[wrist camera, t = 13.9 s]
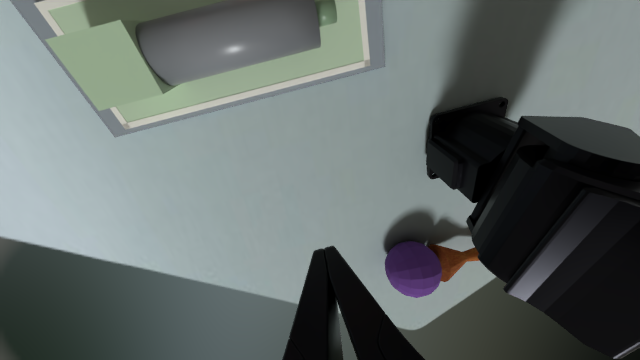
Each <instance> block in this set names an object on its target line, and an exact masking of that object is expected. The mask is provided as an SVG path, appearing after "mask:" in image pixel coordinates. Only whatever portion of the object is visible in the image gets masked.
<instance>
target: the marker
mask: <svg viewBox="0 0 640 360" xmlns="http://www.w3.org/2000/svg"><path fill="white" fill-rule="evenodd" d="M333 23H337V10H336V4H335V0H319V1H314V0H225V1H221V2H218V3H214V4H210V5H206V6H202V7H199V8H195V9H191V10H187V11H183V12H180V13H176V14H172V15H168V16H164V17H161V18H157V19H153V20H149V21H137V20H118V21H114V22H110V23H106V24H102V25H99V26H95V27H91V28H87V29H83V30H80V31H76V32H72V33H68V34H64V35H61V36H57V37H53V38H49V39H45V41H46V42H47V43H48V45H49V46H50V47H51V48H52V50H53V51H54V52H55V54H56V55H57V56H58V58H59V59H60V60H61V62H62V63H63V64H64V66H65V67H66V68H67V70H68V71H69V72H70V74H71V75H72V76H73V78H74V79H75V80H76V82H77V83H78V84H79V86H80V87H81V88H82V90H83V91H84V92H85V93H86V95H87V96H88V97H89V99H90V100H91V101H92V103H93V104H94V105H95V107H96V108H97V109H98V111H101V110H105V109H108V108H112V107H116V106H120V105H124V104H127V103H131V102H135V101H139V100H143V99H147V98H150V97H154V96H158V95H162V94H164V93H166V92H168V91H170V90H171V89H173V88H175V87H177V86H178V85H180V84H182V83H186V82H190V81H194V80H198V79H201V78H205V77H209V76H213V75H217V74H221V73H224V72H228V71H232V70H236V69H240V68H243V67H247V66H251V65H255V64H259V63H263V62H266V61H270V60H274V59H278V58H282V57H285V56H289V55H293V54H297V53H301V52H305V51H308V50H312V49H316V48H320V47H321V37H320V28H319V27H322V26H326V25H330V24H333Z"/></svg>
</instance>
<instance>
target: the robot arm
mask: <svg viewBox="0 0 640 360" xmlns="http://www.w3.org/2000/svg"><path fill="white" fill-rule="evenodd" d="M500 103H501V104H500ZM499 104H500V105H499ZM507 105H508V100H507V99H506V98H503V97H499V98H495V99H491V100H487V101H483V102H479V103H476V104H472V105H468V106H464V107H460V108H456V109H453V110H449V111H445V112H441V113H437V114H434V115H433V116H432V117H431V119H430V128H429V140H428V142H427V160H426V165H427V166H428V168H427V175H428V176H429V178H430V179H436V178H441V179H442V180H443V181H444V182H445V183H446V184H447V185H448V186H449V187H450V188H452V189H453V190H454V189H458V190H459V191H460V192H461V193H462V194H463V195H465V196H466V197H467V198H468V199H469V200H470V201H471V202H472V203H476V202H478V203H477V205H476V207H475V208H474V210H473V212H472V214H471V215H470V216H469V217H468V219H467V221H466V222H467V224H468V227H469V229H470V231H471V233H472V242H473V244H474V246H475V248H476V249H477V251H478V253H479V254H478V259H479V260H480V262H481V263H482V264H483V265H484V266H485V267H486V268H487V269H488V270H489V271H490V272H492V273H493V274H494V275H495V276H497V277H498V278H499V279H501V280H502V281H504V282H505V283H507V284H506V285H505V286H504V291H505V292H506V293H508V294H510V295H513V296H515V297H517V298H519V299H521V300H524V301H526V302H528V303H529V304H531V305H532V306H534V307H536V308H537V309H539V310H541V311H542V312H544V313H545V314H546V315H548V316H549V317H551V318H552V319H553V320H554V321H556V322H557V323H558V324H560V325H561V326H562V327H563V328H564V329H566V330H567V331H568V332H569V333H571V334H572V335H573V336H574V337H576V338H577V339H578V340H579V341H581V342H582V343H583V344H585V345H587V346H588V347H591V348H593V349H595V350H597V351H599V352H601V353H603V354H605V355H607V356H609V357H612V358H615V359H621V358H623V357H624V356H626V355H628V354H629V353H631V352H633V351H634V350H636V349H638V348H639V347H640V137H639V136H638V135H637V134H636V133H634V132H633V131H632V130H631V129H628V128H625V127H621V126H617V125H613V124H609V123H605V122H600V121H596V120H592V119H588V118H583V117H547V116H521V118H520V120H519V122H518V123H517V122H515V121H512V120H510V119H507V118H505V113H506V109H507ZM436 119H438V121H437V122H435V121H436ZM433 173H434V174H433ZM432 174H433V175H432ZM337 302H338V305H339V308H340V311H341V314H342V317H343V319H344V322H345V325H346V328H347V331H348V334H349V337H350V340H351V343H352V345H353V348H354V351H355V354H356V357H357V360H425V359H424V358H423V357H422V356H421V355H420V354H419V353H418V352H417V351H416V350H415V348H414V347H413V346H412V345H411V344H410V343H409V342H408V341H407V340H406V338H405V337H404V336H403V335H402V334H401V332H400V331H399V330H398V329H397V327H396V326H395V325H394V324H393V322H392V321H391V320H390V319H389V317H388V316H387V315H386V314H385V312H384V311H383V310H382V308H381V307H380V306H379V304H378V303H377V302H376V300H375V299H374V298H373V296H372V295H371V294H370V292H369V291H368V290H367V289H366V287H365V286H364V285H363V283H362V282H361V281H360V279H359V278H358V277H357V275H356V274H355V273H354V272H353V270H352V269H351V268H350V266H349V265H348V264H347V262H346V261H345V260H344V258H343V257H342V256H341V254H340V253H339V252H338V251H337V249H336V248H335V247H334V246H330V247H326V248H325V249H318V250H315V251H314V252H313V256H312V259H311V262H310V266H309V269H308V273H307V276H306V280H305V283H304V287H303V290H302V294H301V297H300V301H299V304H298V308H297V311H296V315H295V318H294V322H293V325H292V329H291V332H290V336H289V338H290V339H289V340H288V343H287V346H286V349H285V353H284V356H283V359H282V360H343V351H342V342H341V335H340V334H341V333H340V324H339V314H338V305H337Z"/></svg>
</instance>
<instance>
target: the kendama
mask: <svg viewBox="0 0 640 360" xmlns="http://www.w3.org/2000/svg"><path fill="white" fill-rule="evenodd" d="M478 254H479V253H478V251H477V249H476V248H472V249H469V250H467V251H464V252H460V251H457V250H453V249H449V248H446V247H442V246H438V245H434V244H431V245H429V246H428V247H427V246H425V245H424V244H422V243H418V242H414V241H406V242H401V243H398V244H397V245H396V246H394V247H393V248H392V249H391V250H390V251H389V253H388V255H387V257H386V260H385V270H386V275H387V277H388V279H389V281H390V283H391V285H392V286H393V287H394V288H395V289H397V290H398V291H399V292H401V293H402V294H404V295H406V296H411V297H415V298H418V297H422V296H426V295H429V294H431V293H432V292H433V291H434V290H435V289H436V288H437V287H438V286H439V283H440V281H443V282H446V281H448V280H449V279H450V278H451V277H452V276H453V275H454V274H455V273H456V272H457V271H458V270H459V269H460V268H461V267H462V266H463V265H464V264H465V263H466V262H467V261H478V260H479V259H478Z"/></svg>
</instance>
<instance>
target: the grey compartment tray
mask: <svg viewBox="0 0 640 360" xmlns="http://www.w3.org/2000/svg"><path fill="white" fill-rule="evenodd" d="M10 1H11V2H12V4H13V5H14V6H15V8H16V9H17V10H18V11H19V13H20V14H21V15H22V17H23V18H24V19H25V21H26V22H27V23H28V24H29V26H30V27H31V28H32V30H33V31H34V32H35V34H36V35H37V36H38V38H39V39H40V40H41V41H42V43H43V44H44V45H45V47H46V48H47V49H48V51H49V52H50V53H51V55H52V56H53V57H54V58H55V60H56V61H57V62H58V64H59V65H60V66H61V68H62V69H63V70H64V71H65V73H66V74H67V75H68V77H69V78H70V79H71V81H72V82H73V83H74V85H75V86H76V87H77V88H78V90H79V91H80V92H81V94H82V95H83V96H84V98H85V99H86V100H87V102H88V103H89V104H90V105H91V107H92V108H93V109H94V111H95V112H96V113H97V115H98V116H99V117H100V118H101V120H102V121H103V122H104V124H105V125H106V126H107V128H108V129H109V130H110V132H111V133H112V134H113V135H114V137H118V136H122V135H126V134H130V133H133V132H137V131H141V130H145V129H149V128H153V127H156V126H160V125H164V124H168V123H172V122H176V121H179V120H183V119H187V118H191V117H195V116H198V115H202V114H206V113H210V112H214V111H218V110H221V109H225V108H229V107H233V106H237V105H241V104H244V103H248V102H252V101H256V100H260V99H264V98H267V97H271V96H275V95H279V94H283V93H286V92H290V91H294V90H298V89H302V88H306V87H309V86H313V85H317V84H321V83H325V82H329V81H332V80H336V79H340V78H344V77H348V76H352V75H355V74H359V73H363V72H367V71H371V70H374V69H378V68H382V67H385V54H384V35H383V17H382V0H335V4H336V10H337V23H333V24H330V25H326V26H322V27H319V28H320V37H321V47H320V48H316V49H312V50H308V51H305V52H301V53H297V54H293V55H289V56H285V57H282V58H278V59H274V60H270V61H266V62H263V63H259V64H255V65H251V66H247V67H243V68H240V69H236V70H232V71H228V72H224V73H221V74H217V75H213V76H209V77H205V78H201V79H198V80H194V81H190V82H186V83H182V84H180V85H178V86H177V87H175V88H173V89H171V90H170V91H168V92H166V93H164V94H162V95H158V96H154V97H150V98H147V99H143V100H139V101H135V102H131V103H127V104H124V105H120V106H116V107H112V108H108V109H105V110H101V111H98V109H97V108H96V107H95V105H94V104H93V103H92V101H91V100H90V99H89V97H88V96H87V95H86V93H85V92H84V91H83V90H82V88H81V87H80V86H79V84H78V83H77V82H76V80H75V79H74V78H73V76H72V75H71V74H70V72H69V71H68V70H67V68H66V67H65V66H64V64H63V63H62V62H61V60H60V59H59V58H58V56H57V55H56V54H55V52H54V51H53V50H52V48H51V47H50V46H49V45H48V43H47V42H46V41H45V39H49V38H53V37H57V36H61V35H64V34H68V33H72V32H76V31H80V30H83V29H87V28H91V27H95V26H99V25H102V24H106V23H110V22H114V21H118V20H137V21H149V20H153V19H157V18H161V17H164V16H168V15H172V14H176V13H180V12H183V11H187V10H191V9H195V8H199V7H202V6H206V5H210V4H214V3H218V2H221V1H225V0H10ZM314 1H319V0H314Z"/></svg>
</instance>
